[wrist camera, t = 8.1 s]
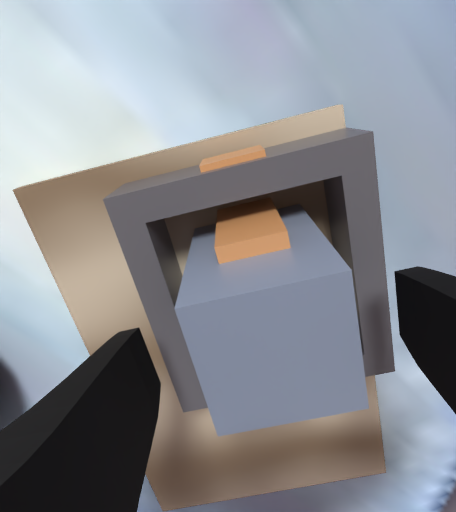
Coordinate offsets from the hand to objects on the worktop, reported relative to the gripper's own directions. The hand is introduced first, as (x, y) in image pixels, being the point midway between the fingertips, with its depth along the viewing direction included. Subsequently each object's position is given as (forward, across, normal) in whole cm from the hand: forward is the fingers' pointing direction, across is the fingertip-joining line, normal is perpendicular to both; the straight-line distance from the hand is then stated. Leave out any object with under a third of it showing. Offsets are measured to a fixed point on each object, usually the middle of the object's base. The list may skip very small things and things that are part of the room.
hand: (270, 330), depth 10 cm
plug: (+4, 0, 0) cm, 5 cm away
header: (+5, 0, 0) cm, 5 cm away
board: (+5, +2, +4) cm, 7 cm away
